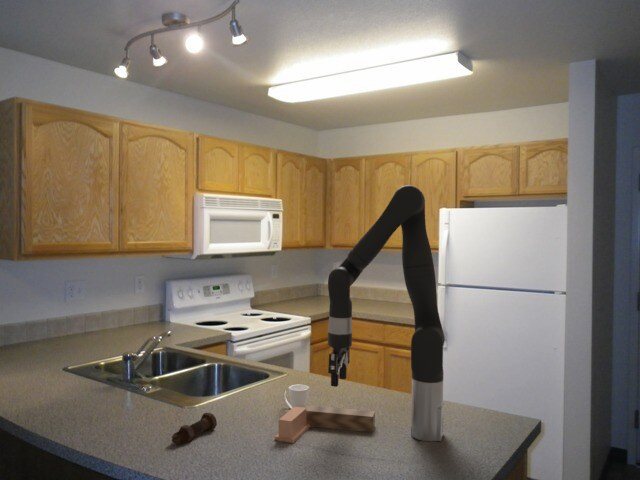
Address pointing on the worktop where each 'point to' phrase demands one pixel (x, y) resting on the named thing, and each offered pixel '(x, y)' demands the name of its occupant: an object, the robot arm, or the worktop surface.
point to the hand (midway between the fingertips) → (338, 382)
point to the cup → (297, 395)
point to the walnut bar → (340, 418)
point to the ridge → (292, 425)
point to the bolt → (195, 429)
